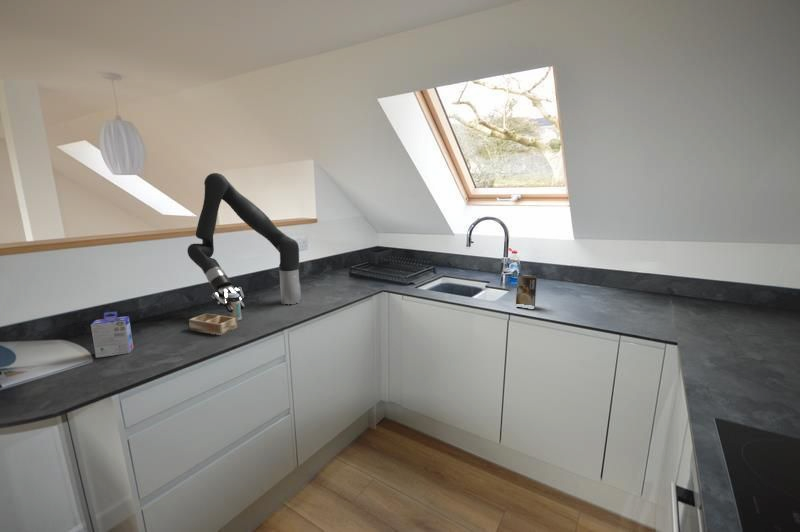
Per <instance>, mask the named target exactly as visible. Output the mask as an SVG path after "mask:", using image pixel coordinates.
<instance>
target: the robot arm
mask: <svg viewBox="0 0 800 532" xmlns="http://www.w3.org/2000/svg"><path fill="white" fill-rule="evenodd" d="M203 183H204V184H203V185H204V197H203V204H202V209H201V211H200V215H199V217H198V222H197V225H196V231H195V237H196V238H197V239H200V240H202V243H191V244H189V246H188V247H187V255H188V257H189V259H190V260H191V261H192V262H194V263H195V265H197V267H199V268H200V269H201V270H202V272H203V274H204V276H206V279H207V281H208V283H209V284H210V286H211V287H212V289H213V291H214V292H213V293H212V295H211V296H210V298H211V299H212V300H213V301H214V302H215V303H216V304H217V305H218V306H219V307H222V306H223V307H225V310H226V311H227V312H228V313H229V312H230V313H231V312H233V308H232V307H231V305H230V303H228V295H229V294H230V293H238V294H239V295H240V305H241V310H244V309H245V304H244V302H243V299H244V298H245V295H244V291H243V289H242V287H241V286H238V287H234V286H233V284H232V281H231V279H229V277H228V275H227V274H226V272H225V271H224V270H223V268H222V267H221V266H220V264H219V262H218V261H217V259H215V258H212V256H213V255H214V252H215V249H214V245H215V244H214V235H215V230H216V225H217V221H218V220H217V219H218V214H219V209H220V206H221V202H222V201H224V202H225V203H226V204H227V205H229V207H230V208H231V209H232V210H233V211H234V213H235V214H236V215H237V216H238V217H239V219H241V220H242V222H244V223H245V224H246V225H247V226H248V227H250V228H251V230H253V231H255V232H256V233H257V234H259V235H261V236H262V237H263V238H264V239H266V240H267V241H268V242H269V243H270V244H271V245H272V246H273V247H274V248H275V249H276V250H277V252H278V253H279V265H278V269H279V272H278V273H279V285H280V303H281V304H282V305H285V304H288V306H290V305H289V304H292V305H297V304H299V303H300V302H301V301H302V295H301V293H302V292H301V283H300V273H299V271H300V270H299V264H300V247H299V244H298V242H297V241H296V240H295V239H293V238H291V237H290V236H288V235H287V234H286V233H284V232H282V231H281V230H280V229H279V228H278V227H276V225H275V224H274V222H272V220H271V219H270V217H268V216H267V214H266V213H265V212H264V211H262V210H261V209H260V208H259V207H258V206H257V205H256V204H254V203H253V202H252V201H251V200H249V199H248V198H247V197H245V196H244V195H243V194H241V193H240V192H239V191H238V190H237V189H236V188H235V187H234V186H233V185H232V183H231V182H229V181H228V179H227V178H226V177H225V176H224V175H223V174H221V173H218V172H212V173H210V174H208V175H207V176H206V178H205V179H204V182H203ZM300 300H301V301H300ZM296 303H297V304H296Z"/></svg>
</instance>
